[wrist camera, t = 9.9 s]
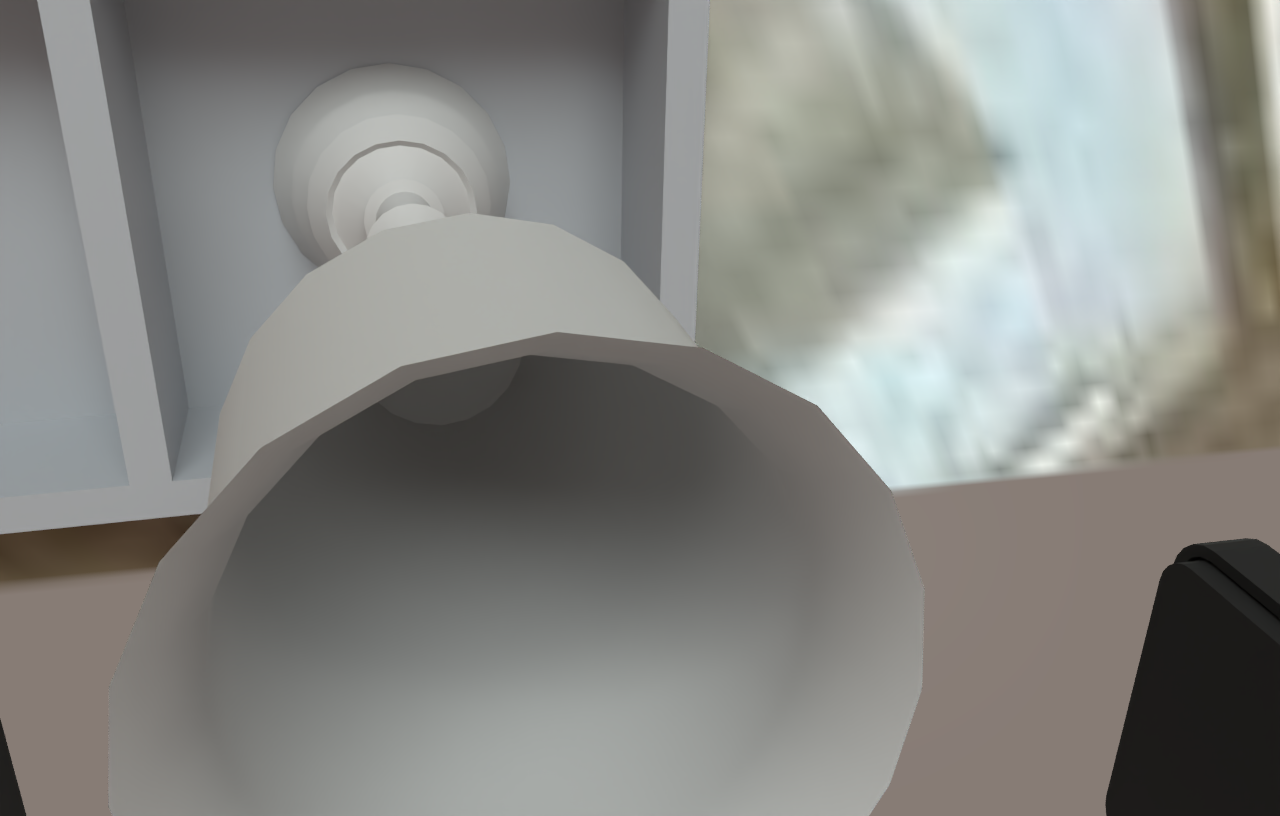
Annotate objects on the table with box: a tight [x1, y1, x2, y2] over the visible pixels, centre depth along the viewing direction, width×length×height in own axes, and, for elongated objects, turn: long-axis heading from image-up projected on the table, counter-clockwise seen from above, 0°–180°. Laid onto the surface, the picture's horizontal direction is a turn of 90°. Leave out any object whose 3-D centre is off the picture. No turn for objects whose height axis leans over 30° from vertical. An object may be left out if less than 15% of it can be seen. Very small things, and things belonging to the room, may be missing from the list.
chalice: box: [108, 63, 924, 816], centre depth 17 cm, size 7×7×18 cm
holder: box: [0, 0, 710, 534], centre depth 23 cm, size 22×12×4 cm, turn 89°
